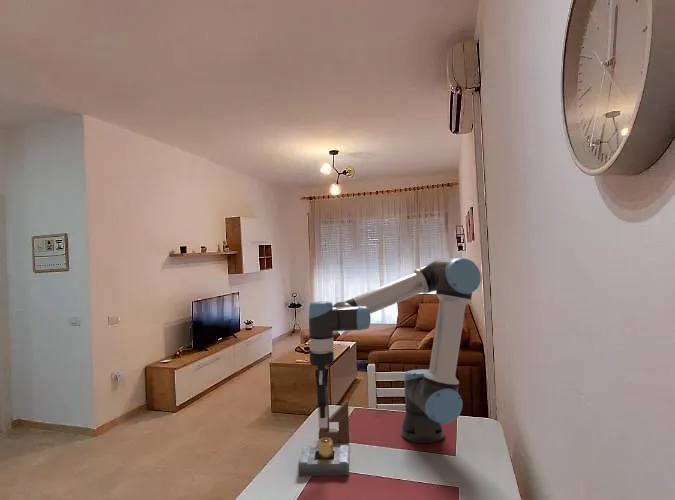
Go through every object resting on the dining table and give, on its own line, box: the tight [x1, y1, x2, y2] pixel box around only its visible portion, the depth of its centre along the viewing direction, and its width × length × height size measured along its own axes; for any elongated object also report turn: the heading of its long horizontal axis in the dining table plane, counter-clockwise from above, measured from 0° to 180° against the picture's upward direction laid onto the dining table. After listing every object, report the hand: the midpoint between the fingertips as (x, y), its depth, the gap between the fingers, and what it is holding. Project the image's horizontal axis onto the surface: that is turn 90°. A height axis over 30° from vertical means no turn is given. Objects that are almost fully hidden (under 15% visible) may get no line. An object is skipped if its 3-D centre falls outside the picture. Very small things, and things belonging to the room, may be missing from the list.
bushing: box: [318, 438, 334, 460], centre depth 127 cm, size 4×4×8 cm
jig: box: [298, 444, 350, 477], centre depth 127 cm, size 15×11×4 cm
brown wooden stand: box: [318, 388, 350, 443], centre depth 145 cm, size 4×11×18 cm, turn 87°
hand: (323, 426), depth 127 cm, fingers closed
